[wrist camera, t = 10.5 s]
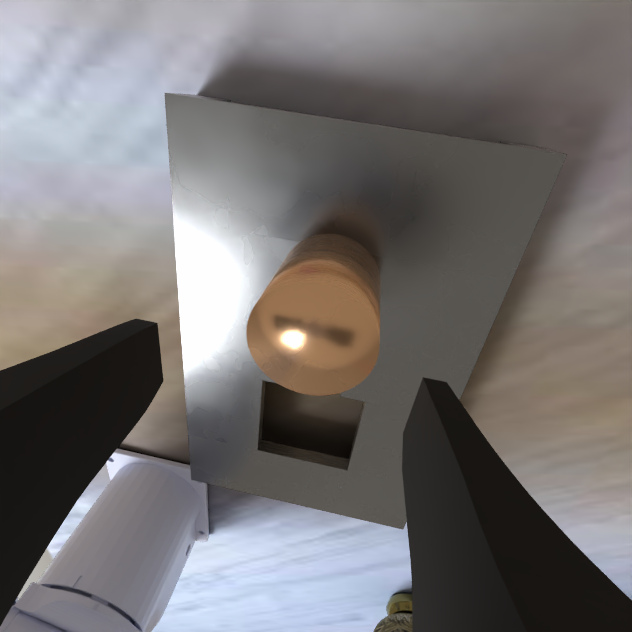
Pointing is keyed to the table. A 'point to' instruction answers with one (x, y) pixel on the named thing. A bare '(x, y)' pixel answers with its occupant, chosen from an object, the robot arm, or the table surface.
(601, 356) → the table surface
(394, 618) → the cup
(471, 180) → the keyhole bracket
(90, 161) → the table surface
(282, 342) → the copper peg
